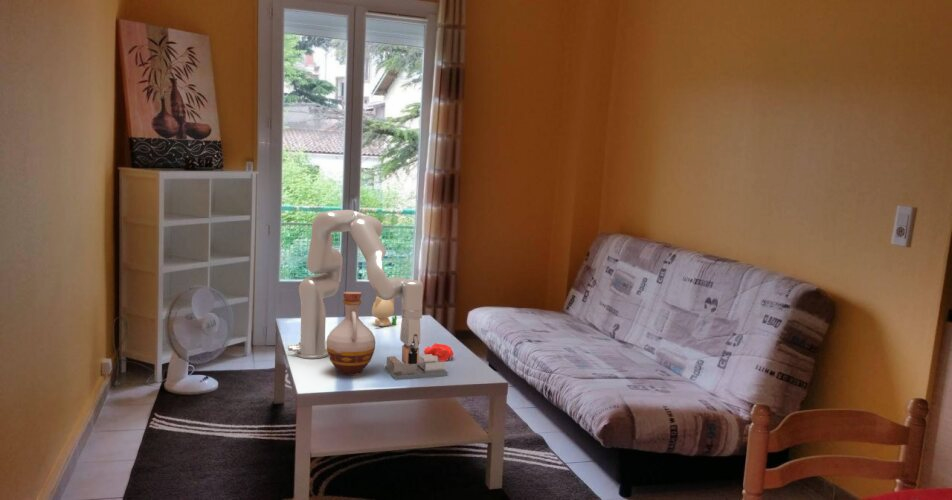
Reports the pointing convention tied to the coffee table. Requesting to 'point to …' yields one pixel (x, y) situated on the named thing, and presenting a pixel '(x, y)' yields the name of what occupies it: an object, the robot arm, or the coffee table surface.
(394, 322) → the kitten
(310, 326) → the robot arm
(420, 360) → the light grey sliding block
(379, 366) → the coffee table surface
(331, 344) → the jug
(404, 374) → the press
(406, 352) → the block
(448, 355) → the animal figurine
